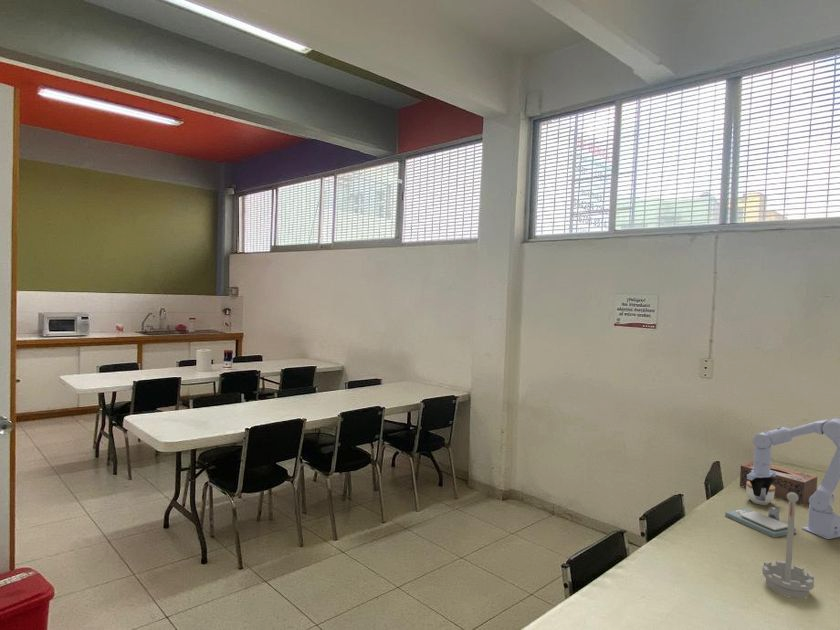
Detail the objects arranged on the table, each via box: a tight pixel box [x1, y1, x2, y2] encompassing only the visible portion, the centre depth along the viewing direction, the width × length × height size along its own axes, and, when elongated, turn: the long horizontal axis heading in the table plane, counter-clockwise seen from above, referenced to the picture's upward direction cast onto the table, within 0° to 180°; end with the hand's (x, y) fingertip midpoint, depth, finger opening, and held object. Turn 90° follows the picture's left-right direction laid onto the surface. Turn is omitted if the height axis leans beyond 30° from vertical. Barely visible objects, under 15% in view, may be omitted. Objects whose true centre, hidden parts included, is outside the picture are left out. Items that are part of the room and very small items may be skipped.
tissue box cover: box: [739, 460, 818, 506], centre depth 244 cm, size 26×14×10 cm, turn 35°
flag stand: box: [762, 492, 815, 599], centre depth 163 cm, size 13×13×30 cm
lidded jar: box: [745, 481, 775, 506], centre depth 231 cm, size 11×11×9 cm
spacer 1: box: [755, 486, 766, 501], centre depth 218 cm, size 4×4×5 cm
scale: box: [724, 507, 797, 539], centre depth 209 cm, size 20×12×3 cm, turn 22°
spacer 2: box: [767, 506, 780, 521], centre depth 212 cm, size 4×4×5 cm
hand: (760, 495), depth 218 cm, fingers closed on spacer 1, 4 cm apart
